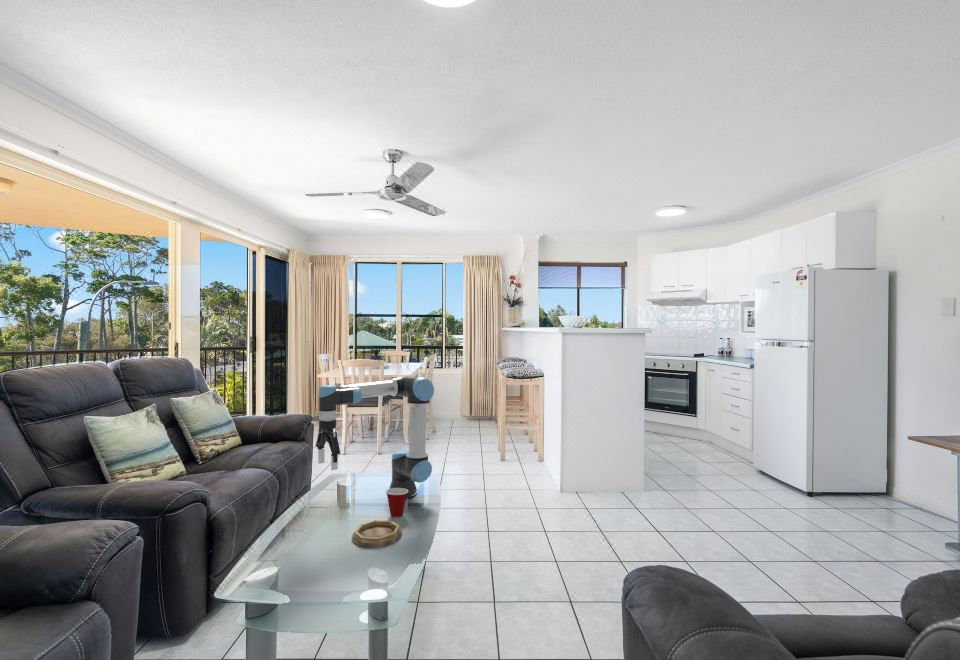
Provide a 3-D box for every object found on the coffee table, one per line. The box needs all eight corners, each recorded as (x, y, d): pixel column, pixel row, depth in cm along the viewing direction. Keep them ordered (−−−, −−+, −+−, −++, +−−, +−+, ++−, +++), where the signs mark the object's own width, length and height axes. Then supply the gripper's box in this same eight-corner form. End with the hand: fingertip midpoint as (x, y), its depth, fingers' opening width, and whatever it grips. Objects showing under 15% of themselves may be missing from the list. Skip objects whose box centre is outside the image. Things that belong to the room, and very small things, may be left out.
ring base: (386, 521, 208) (386, 515, 208) (411, 537, 192) (411, 530, 192) (343, 534, 194) (343, 527, 194) (366, 552, 179) (366, 545, 179)
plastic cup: (412, 512, 218) (412, 488, 218) (399, 521, 209) (399, 495, 209) (394, 509, 223) (394, 485, 223) (380, 517, 213) (381, 492, 213)
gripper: (308, 416, 209) (308, 462, 209) (331, 424, 191) (332, 474, 191) (323, 414, 215) (323, 459, 215) (348, 422, 196) (348, 470, 196)
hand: (327, 466), depth 203 cm, fingers open, 13 cm apart
